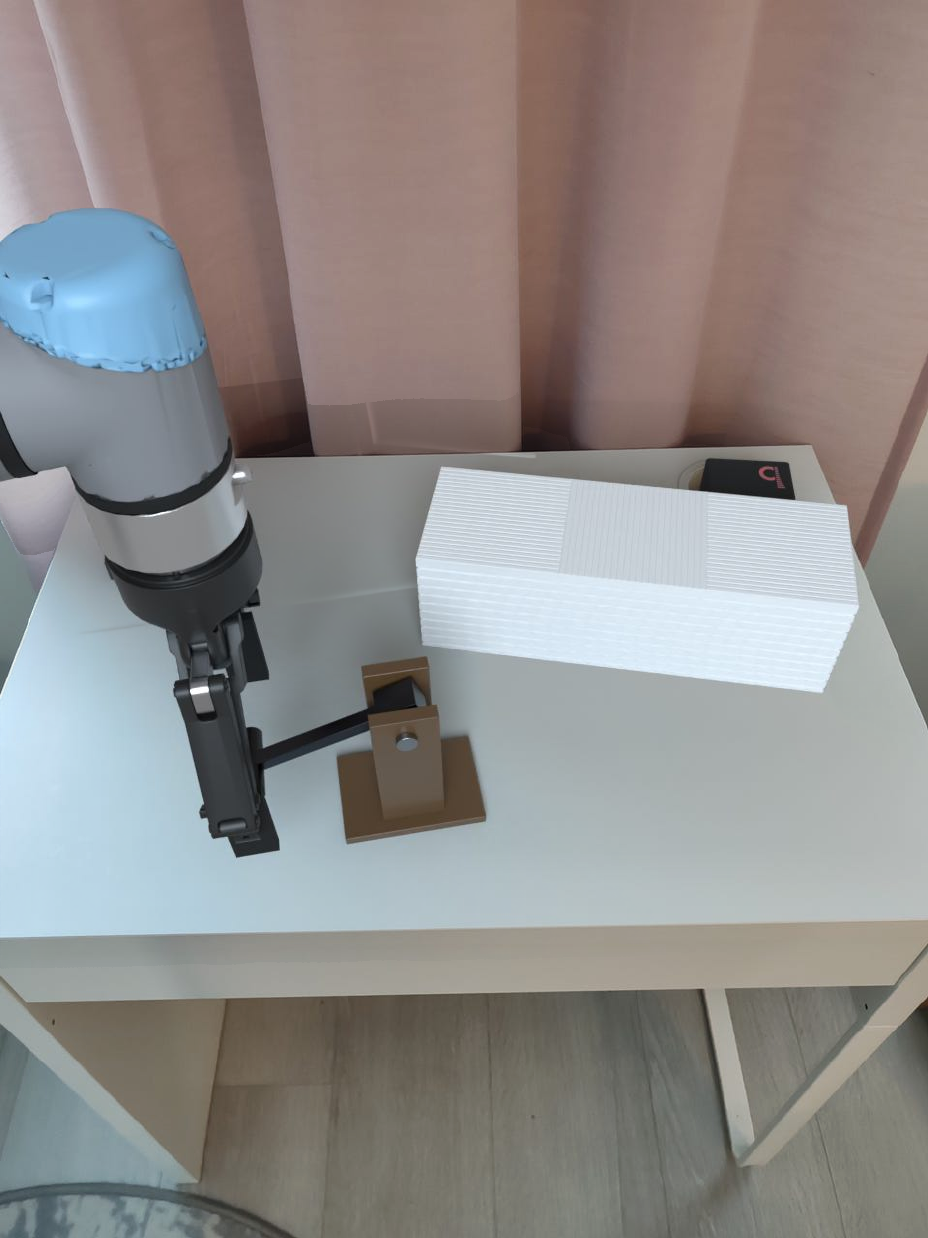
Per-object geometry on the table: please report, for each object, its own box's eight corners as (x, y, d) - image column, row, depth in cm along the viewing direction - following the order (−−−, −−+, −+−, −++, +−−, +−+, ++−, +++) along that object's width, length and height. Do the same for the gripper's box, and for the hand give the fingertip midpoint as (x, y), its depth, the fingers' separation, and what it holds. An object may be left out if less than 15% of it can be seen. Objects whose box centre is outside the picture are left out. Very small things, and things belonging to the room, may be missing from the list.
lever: (252, 807, 66) (233, 791, 64) (249, 745, 69) (231, 728, 68) (433, 740, 64) (419, 721, 62) (421, 679, 67) (407, 660, 66)
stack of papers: (422, 649, 82) (415, 558, 74) (445, 558, 89) (441, 465, 81) (820, 697, 78) (859, 606, 70) (812, 598, 85) (846, 504, 77)
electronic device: (704, 580, 87) (714, 539, 83) (697, 498, 94) (706, 457, 90) (791, 586, 86) (805, 544, 83) (777, 502, 93) (789, 461, 90)
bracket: (347, 848, 71) (325, 747, 61) (338, 766, 75) (316, 660, 65) (486, 825, 72) (486, 722, 62) (468, 745, 76) (466, 638, 66)
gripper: (261, 714, 43) (325, 923, 59) (243, 374, 59) (297, 611, 75) (82, 742, 42) (197, 946, 58) (113, 390, 58) (196, 626, 74)
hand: (253, 758), depth 66 cm, fingers open, 13 cm apart
